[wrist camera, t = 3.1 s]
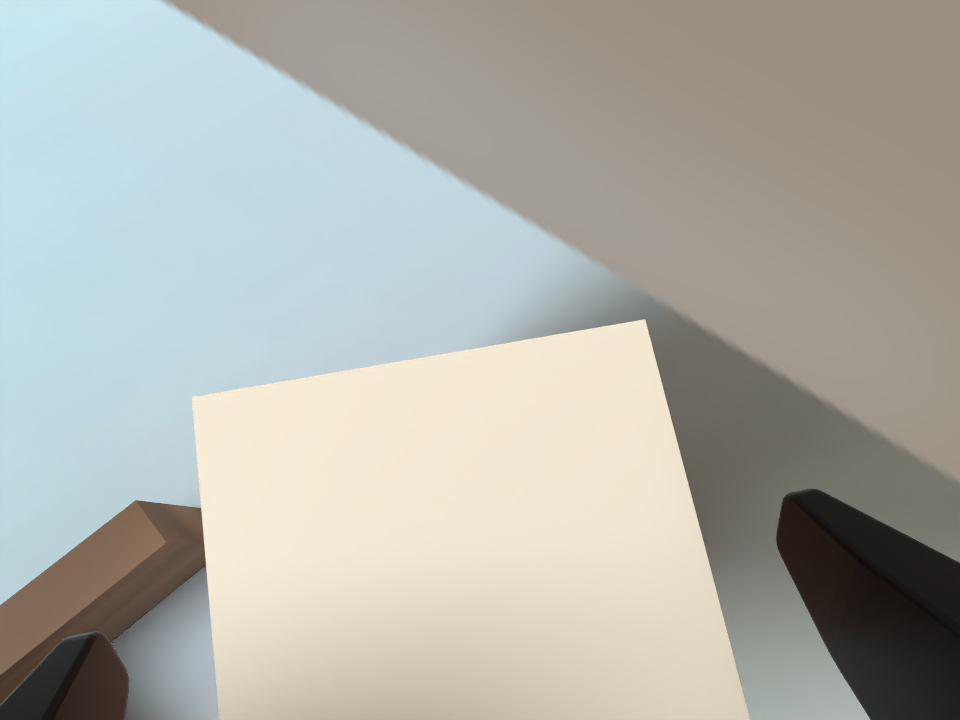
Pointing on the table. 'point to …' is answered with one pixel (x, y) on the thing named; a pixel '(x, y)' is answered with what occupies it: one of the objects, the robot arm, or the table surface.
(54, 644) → the walnut corner walls
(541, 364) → the pink tall block
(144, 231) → the table surface
